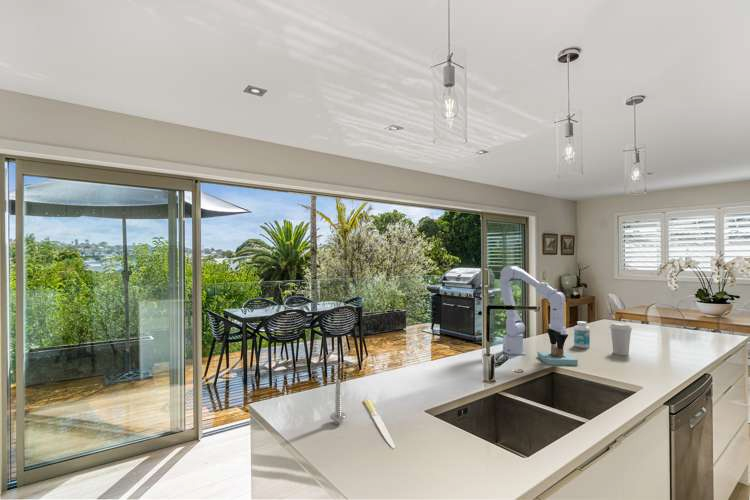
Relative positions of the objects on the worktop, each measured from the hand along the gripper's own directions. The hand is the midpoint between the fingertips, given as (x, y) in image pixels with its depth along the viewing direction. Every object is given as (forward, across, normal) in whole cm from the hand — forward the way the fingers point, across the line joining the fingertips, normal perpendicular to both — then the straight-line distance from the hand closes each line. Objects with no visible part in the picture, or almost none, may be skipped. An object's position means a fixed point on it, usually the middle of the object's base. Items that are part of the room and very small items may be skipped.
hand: (556, 346), depth 179 cm
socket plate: (+7, 0, 0) cm, 7 cm away
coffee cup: (+7, +15, -38) cm, 42 cm away
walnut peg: (+7, 0, 0) cm, 7 cm away
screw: (+7, -71, +93) cm, 117 cm away
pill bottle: (+7, +28, -25) cm, 39 cm away
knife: (+7, -68, +80) cm, 106 cm away
